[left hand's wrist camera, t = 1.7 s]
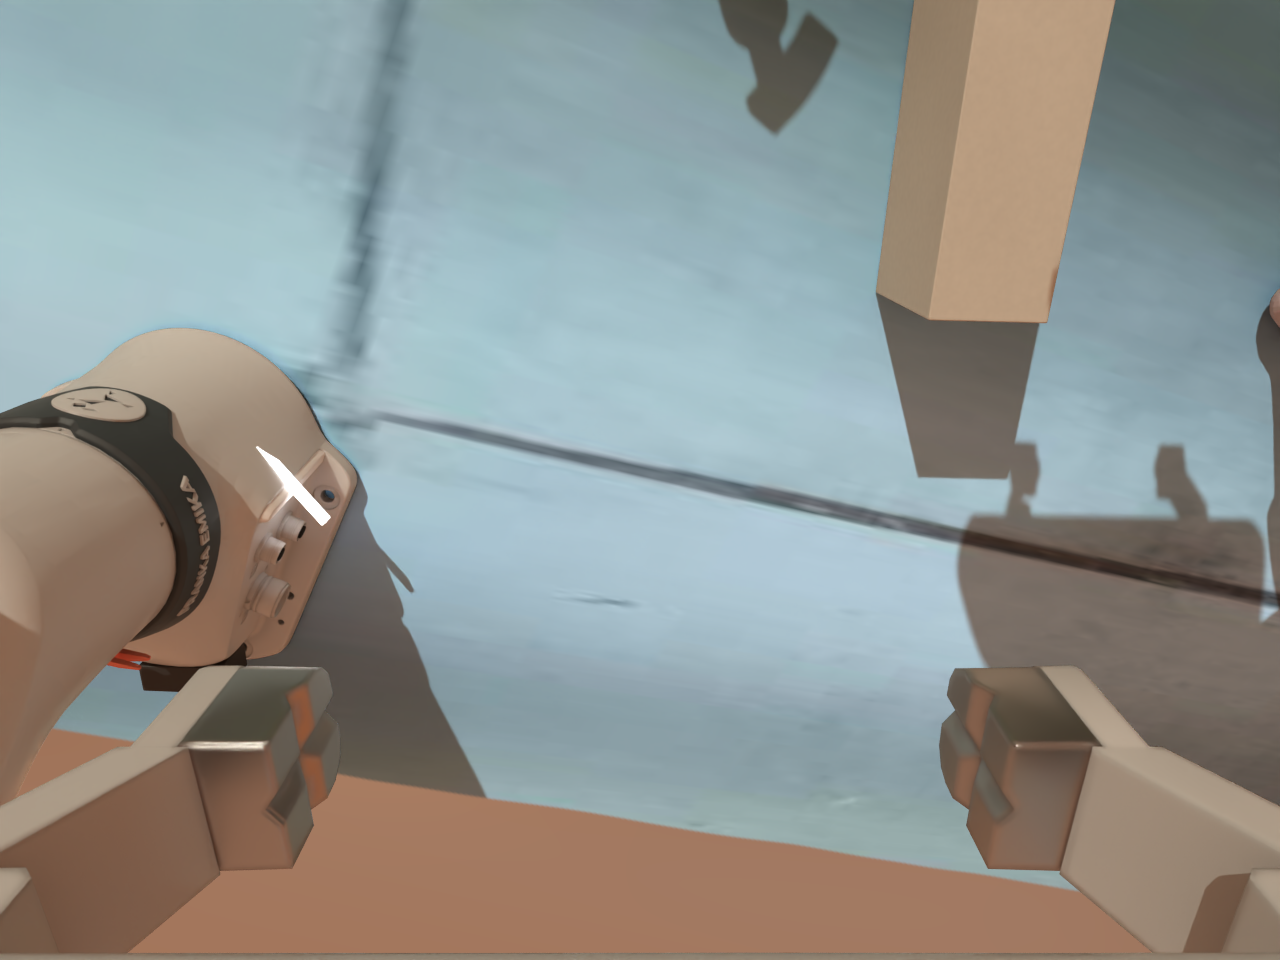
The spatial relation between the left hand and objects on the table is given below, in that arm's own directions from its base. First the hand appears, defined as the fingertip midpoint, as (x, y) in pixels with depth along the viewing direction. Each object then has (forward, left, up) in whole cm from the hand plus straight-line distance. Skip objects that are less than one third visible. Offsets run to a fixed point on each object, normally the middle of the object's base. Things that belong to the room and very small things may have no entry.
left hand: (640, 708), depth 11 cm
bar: (+18, -13, -39) cm, 45 cm away
